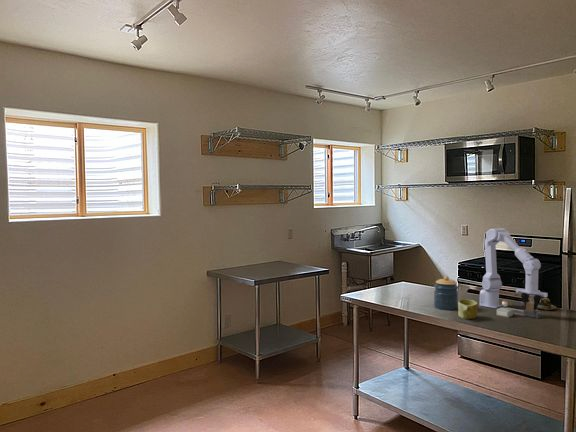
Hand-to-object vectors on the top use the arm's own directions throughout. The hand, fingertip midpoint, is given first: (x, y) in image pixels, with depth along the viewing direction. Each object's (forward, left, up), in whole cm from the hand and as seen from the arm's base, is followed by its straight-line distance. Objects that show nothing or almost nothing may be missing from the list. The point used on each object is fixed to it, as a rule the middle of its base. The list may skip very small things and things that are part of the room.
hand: (531, 308), depth 234 cm
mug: (-21, -27, -4) cm, 34 cm away
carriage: (0, 0, -4) cm, 4 cm away
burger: (-1, +22, -4) cm, 22 cm away
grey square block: (-10, -8, -4) cm, 13 cm away
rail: (-5, 0, -4) cm, 6 cm away
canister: (-39, -15, -4) cm, 42 cm away
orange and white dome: (-10, -8, +1) cm, 13 cm away
